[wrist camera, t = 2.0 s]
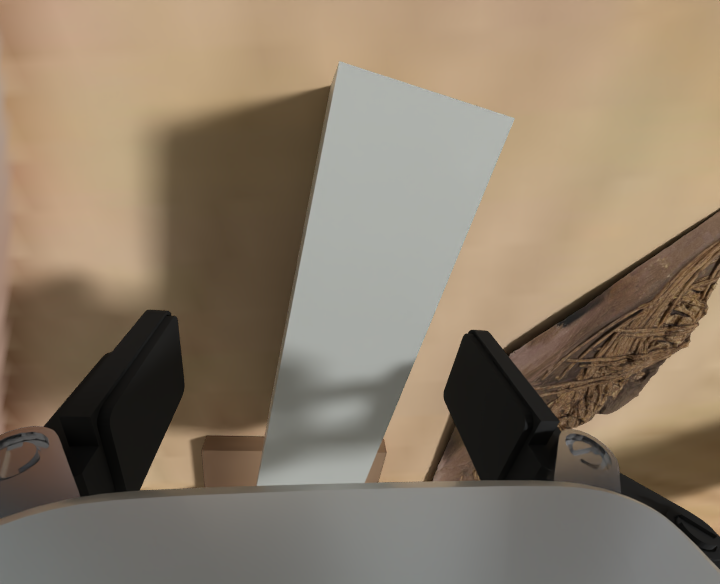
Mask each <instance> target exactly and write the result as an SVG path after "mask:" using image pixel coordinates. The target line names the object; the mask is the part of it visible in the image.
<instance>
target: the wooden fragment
mask: <svg viewBox="0 0 720 584" xmlns="http://www.w3.org/2000/svg"><path fill="white" fill-rule="evenodd" d="M719 277H720V211H719V212H717V213H716V214H714V215H713V216H712V217H710V218H709V219H708V220H706V221H705V222H703V223H702V224H701V225H699V226H698V227H697V228H695V229H694V230H692V231H691V232H689V233H688V234H686V235H684V236H683V237H682V238H680V239H679V240H677V241H676V242H675V243H673V244H672V245H671V246H669V247H667V248H665V249H664V250H662V251H661V252H660V253H658V254H657V255H655V256H654V257H652V258H651V259H649V260H648V261H646V262H645V263H643V264H642V265H640V266H638V267H637V268H635V269H634V270H633V271H632V272H631V273H629V274H627V276H625V277H624V278H622V279H620V280H619V281H618V282H616V283H615V284H613V285H612V286H611V287H610V288H608V289H607V290H605V291H604V292H603V293H602V294H601V295H599V296H597V297H596V298H595V299H593V300H592V301H590V302H589V303H588V304H587V305H586V306H584V307H583V308H581V309H579V310H578V311H576V312H574V313H573V314H572V315H570V316H568V317H567V318H566V319H565V320H563V321H561V322H559V323H557V324H556V325H554V326H553V327H551V328H550V329H548V330H547V331H545V332H543V333H542V334H540V335H538V336H537V337H535V338H534V339H533V340H531V341H529V342H528V343H527V344H525V345H524V346H522V347H521V348H520V349H518V350H515V351H514V352H513V353H511V354H510V356H509V358H510V359H511V360H512V362H513V363H514V364H515V365H516V367H517V368H518V369H519V370H520V372H521V373H522V374H523V375H524V377H525V378H526V379H527V380H528V382H529V383H530V384H531V385H532V387H533V388H534V389H535V391H536V392H537V393H538V394H539V396H540V397H541V398H542V399H543V401H544V402H545V403H546V404H547V406H548V407H549V408H550V409H551V411H552V412H553V413H554V414H555V416H556V417H557V418H558V420H559V421H560V422H559V424H558V426H557V427H558V428H559V429H560V431H561V432H562V431H564V430H566V429H572V428H574V427H577V426H579V425H583V424H584V423H587V422H588V421H590V420H591V419H592V418H593V417H594V415H595V414H610V413H613V412H614V411H617V410H618V409H620V408H621V407H622V406H624V405H625V404H627V403H628V402H629V401H631V400H632V399H633V398H635V397H637V396H638V395H639V392H640V391H641V390H642V389H643V387H644V386H645V385H646V383H648V381H649V380H650V378H651V377H652V376H653V375H655V374H656V373H657V371H658V368H659V366H660V365H662V364H663V363H664V362H665V360H666V359H667V358H669V357H670V356H671V355H672V354H674V353H675V352H677V351H679V350H680V349H682V348H685V347H688V345H689V342H690V335H691V332H692V331H693V330H694V329H695V328H696V327H697V326H699V323H698V321H699V320H700V319H701V318H702V317H703V316H705V315H706V313H707V310H708V306H707V300H708V299H709V297H710V294H711V293H712V291H713V290H714V289H715V287H716V285H717V283H716V282H717V280H718V279H719ZM433 481H481V480H480V478H479V476H478V474H477V471H476V469H475V467H474V465H473V463H472V460H471V458H470V456H469V454H468V452H467V449H466V447H465V445H464V443H463V441H462V438H461V436H460V434H459V432H458V430H457V427H456V426H455V429H454V431H453V433H452V436H451V438H450V440H449V442H448V444H447V447H446V449H445V451H444V455H443V457H442V459H441V462H440V464H439V465H438V469H437V470H436V472H435V475H434V478H433Z"/></svg>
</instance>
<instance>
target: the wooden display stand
mask: <svg viewBox="0 0 720 584" xmlns="http://www.w3.org/2000/svg"><path fill="white" fill-rule="evenodd" d="M263 443H264V437H237V436H206V439H205V442H204V445H203V448H202V462H203V473H204V485H205V487H236V486H256V483H257V477H258V472H259V466H260V460H261V454H262V449H263ZM386 453H387V452H386V447H385V442H384V439H382V442H381V444H380V447H379V449H378V451H377V454H376V456H375V459H374V461H373V464H372V466H371V468H370V471H369V473H368V476H367V478H366V481H365V483H378V482H379V478H380V475H381V471H382V467H383V464H384V460H385V457H386Z"/></svg>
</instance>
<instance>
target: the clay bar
mask: <svg viewBox="0 0 720 584" xmlns="http://www.w3.org/2000/svg"><path fill="white" fill-rule="evenodd" d="M514 119H515V118H512V117H509V116H506V115H503V114H500V113H497V112H494V111H491V110H488V109H484V108H481V107H478V106H475V105H472V104H469V103H466V102H463V101H460V100H457V99H454V98H451V97H448V96H445V95H441V94H438V93H435V92H432V91H429V90H426V89H423V88H420V87H417V86H414V85H411V84H408V83H405V82H401V81H398V80H395V79H392V78H389V77H386V76H383V75H380V74H377V73H374V72H371V71H368V70H365V69H362V68H358V67H355V66H352V65H349V64H346V63H343V62H340V61H339V64H338V67H337V69H336V72H335V75H334V78H333V81H332V83H331V87H330V92H329V97H328V102H327V108H326V113H325V118H324V123H323V129H322V134H321V139H320V144H319V150H318V155H317V160H316V166H315V171H314V176H313V181H312V187H311V192H310V197H309V202H308V208H307V213H306V218H305V223H304V229H303V234H302V239H301V244H300V250H299V255H298V260H297V265H296V271H295V276H294V281H293V287H292V292H291V297H290V302H289V308H288V313H287V318H286V323H285V329H284V334H283V339H282V344H281V350H280V355H279V360H278V365H277V371H276V376H275V381H274V387H273V392H272V397H271V403H270V408H269V414H268V420H267V426H266V431H265V437H264V443H263V449H262V454H261V460H260V466H259V472H258V477H257V483H256V486H269V485H302V484H342V483H365V481H366V478H367V476H368V473H369V471H370V468H371V466H372V464H373V461H374V459H375V456H376V454H377V451H378V449H379V447H380V444H381V442H382V439H383V437H384V434H385V432H386V430H387V427H388V425H389V422H390V420H391V417H392V415H393V413H394V410H395V408H396V405H397V403H398V400H399V398H400V396H401V393H402V391H403V388H404V386H405V383H406V381H407V379H408V376H409V374H410V371H411V369H412V366H413V364H414V362H415V359H416V357H417V354H418V352H419V349H420V347H421V345H422V342H423V340H424V337H425V335H426V332H427V330H428V327H429V325H430V323H431V320H432V318H433V315H434V313H435V310H436V308H437V306H438V303H439V301H440V298H441V296H442V293H443V291H444V289H445V286H446V284H447V281H448V279H449V276H450V274H451V272H452V269H453V267H454V264H455V262H456V259H457V257H458V255H459V252H460V250H461V247H462V245H463V242H464V240H465V238H466V235H467V233H468V230H469V228H470V225H471V223H472V221H473V218H474V216H475V213H476V211H477V208H478V206H479V204H480V201H481V199H482V196H483V194H484V191H485V189H486V187H487V184H488V182H489V179H490V177H491V174H492V172H493V170H494V167H495V165H496V162H497V160H498V157H499V155H500V153H501V150H502V148H503V145H504V143H505V140H506V138H507V136H508V133H509V131H510V128H511V126H512V123H513V121H514Z"/></svg>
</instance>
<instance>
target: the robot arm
mask: <svg viewBox="0 0 720 584" xmlns="http://www.w3.org/2000/svg"><path fill="white" fill-rule="evenodd" d="M183 392H184V374H183V365H182V356H181V346H180V337H179V328H178V320H177V317H176V316H171V313H170V312H169V311H161V310H147V311H146V312H145V313H144V314H143V315H142V316H141V317H140V319H139V320H138V321H137V322H136V324H135V325H134V326H133V327H132V328H131V330H130V331H129V332H128V333H127V334H126V336H125V337H124V338H123V339H122V340H121V342H120V343H119V344H118V345H117V347H116V348H115V349H114V350H113V351H112V352H110V353H107V354H105V355H104V356H103V357H102V358H101V359H100V361H99V362H98V363H97V364H96V365H95V367H94V368H93V369H92V370H91V371H90V372H89V374H88V375H87V376H86V377H85V378H84V380H83V381H82V382H81V383H80V384H79V385H78V387H77V388H76V389H75V390H74V391H73V393H72V394H71V395H70V396H69V397H68V398H67V400H66V401H65V402H64V403H63V404H62V405H61V407H60V408H59V409H58V410H57V411H56V413H55V414H54V415H53V416H52V417H51V418H50V420H49V421H48V422H47V423H46V424H45V426H44V427H40V426H31V427H24V428H19V429H16V430H12V431H9V432H6V433H4V434H1V435H0V584H720V536H719V535H718V534H717V533H716V532H715V531H714V530H713V529H712V528H711V527H710V526H709V525H708V524H706V523H705V522H704V521H703V520H701V519H700V518H698V517H697V516H695V515H694V514H692V513H690V512H689V511H687V510H685V509H684V508H682V507H680V506H678V505H676V504H675V503H673V502H671V501H669V500H667V499H666V498H664V497H662V496H660V495H659V494H657V493H655V492H653V491H651V490H650V489H648V488H646V487H644V486H643V485H641V484H639V483H637V482H635V481H634V480H632V479H630V478H628V477H627V476H625V475H623V474H621V473H619V465H618V462H617V459H616V458H615V456H614V455H613V453H612V452H611V451H610V450H609V449H608V448H607V447H606V446H605V445H604V444H603V443H602V442H600V441H599V440H598V439H596V438H595V437H593V436H591V435H589V434H587V433H585V432H582V431H580V430H574V429H566V430H564V431H562V432H561V431H560V429H559V428H558V427H557V426H558V424H559V422H560V421H559V420H558V418H557V417H556V416H555V414H554V413H553V412H552V411H551V409H550V408H549V407H548V406H547V404H546V403H545V402H544V401H543V399H542V398H541V397H540V396H539V394H538V393H537V392H536V391H535V389H534V388H533V387H532V385H531V384H530V383H529V382H528V380H527V379H526V378H525V377H524V375H523V374H522V373H521V372H520V370H519V369H518V368H517V367H516V365H515V364H514V363H513V362H512V360H511V359H510V358H509V357H508V355H507V354H506V353H505V351H504V350H503V349H502V348H501V346H500V345H499V344H498V343H497V341H496V340H495V339H494V338H493V336H492V335H491V334H490V333H489V332H488V331H482V330H470V331H469V332H468V334H465V335H464V336H463V339H462V341H461V344H460V347H459V350H458V353H457V355H456V358H455V361H454V364H453V367H452V370H451V372H450V375H449V378H448V381H447V384H446V387H445V389H444V401H445V403H446V405H447V407H448V410H449V412H450V414H451V416H452V419H453V421H454V423H455V425H456V427H457V430H458V432H459V434H460V436H461V438H462V441H463V443H464V445H465V447H466V449H467V452H468V454H469V456H470V458H471V460H472V463H473V465H474V467H475V469H476V471H477V474H478V476H479V478H480V480H481V481H429V482H383V483H342V484H302V485H269V486H236V487H204V488H183V489H161V490H140V488H141V486H142V484H143V482H144V479H145V477H146V475H147V473H148V471H149V468H150V466H151V464H152V462H153V460H154V457H155V455H156V453H157V451H158V449H159V446H160V444H161V442H162V440H163V438H164V435H165V433H166V431H167V429H168V426H169V424H170V422H171V420H172V418H173V415H174V413H175V411H176V409H177V407H178V404H179V402H180V400H181V398H182V395H183Z"/></svg>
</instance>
